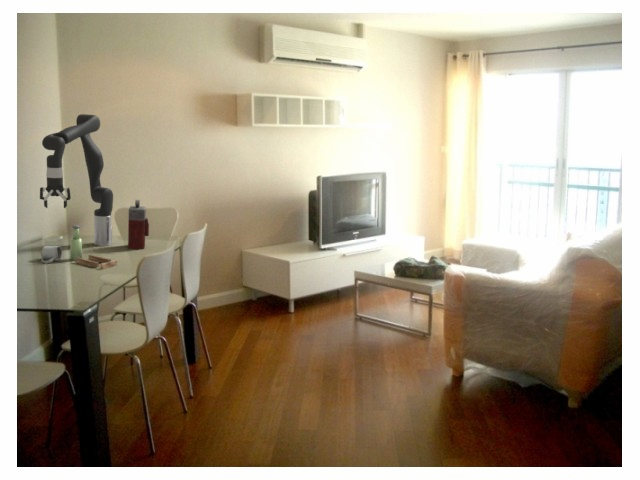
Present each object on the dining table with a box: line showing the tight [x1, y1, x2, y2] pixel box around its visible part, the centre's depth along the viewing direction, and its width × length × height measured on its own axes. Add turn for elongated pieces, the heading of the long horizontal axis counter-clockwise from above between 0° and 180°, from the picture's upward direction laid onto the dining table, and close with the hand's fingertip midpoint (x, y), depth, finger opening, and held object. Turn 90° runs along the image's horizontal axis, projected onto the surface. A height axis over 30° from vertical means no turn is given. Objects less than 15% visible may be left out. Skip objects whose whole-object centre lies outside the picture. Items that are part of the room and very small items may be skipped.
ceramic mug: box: [40, 245, 63, 264], centre depth 308 cm, size 11×8×8 cm
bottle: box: [69, 224, 83, 262], centre depth 314 cm, size 6×6×18 cm
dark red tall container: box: [127, 199, 150, 250], centre depth 348 cm, size 9×11×28 cm
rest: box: [75, 254, 118, 270], centre depth 310 cm, size 10×18×2 cm, turn 65°
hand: (55, 207), depth 307 cm, fingers open, 8 cm apart
